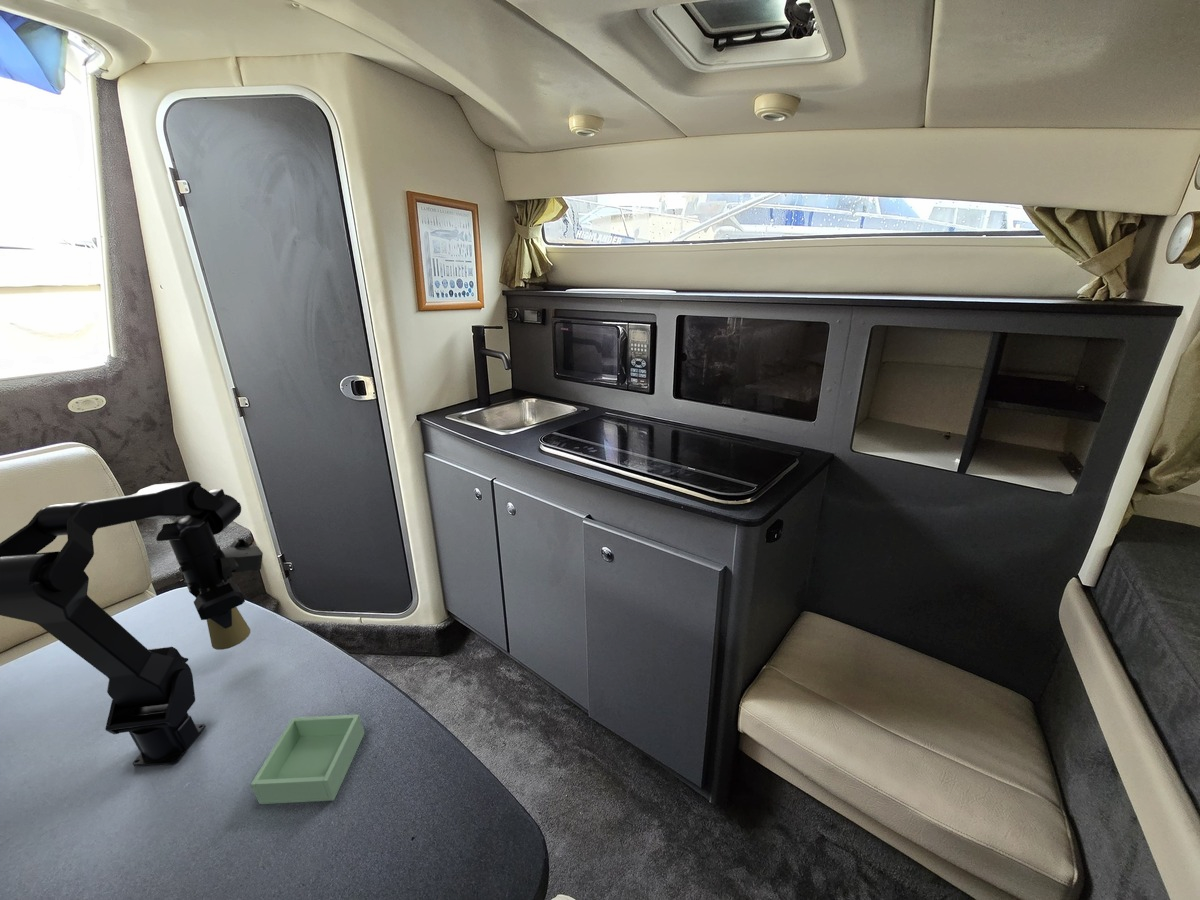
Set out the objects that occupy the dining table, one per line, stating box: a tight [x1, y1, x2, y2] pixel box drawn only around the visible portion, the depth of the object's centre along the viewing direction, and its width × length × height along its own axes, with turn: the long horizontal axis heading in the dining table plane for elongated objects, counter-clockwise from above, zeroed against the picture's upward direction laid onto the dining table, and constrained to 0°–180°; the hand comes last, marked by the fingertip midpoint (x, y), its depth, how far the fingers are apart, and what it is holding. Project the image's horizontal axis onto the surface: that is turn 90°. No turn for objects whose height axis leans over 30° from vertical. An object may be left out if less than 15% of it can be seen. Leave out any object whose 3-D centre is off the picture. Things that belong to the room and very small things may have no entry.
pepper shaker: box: [199, 585, 251, 651], centre depth 90 cm, size 6×6×11 cm
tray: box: [250, 714, 365, 805], centre depth 72 cm, size 10×10×4 cm
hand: (225, 621), depth 91 cm, fingers closed on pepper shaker, 4 cm apart
